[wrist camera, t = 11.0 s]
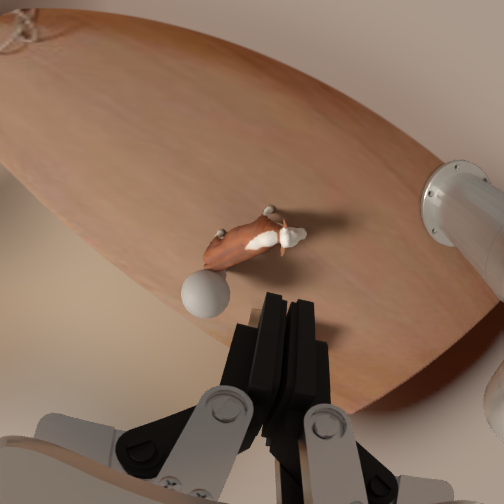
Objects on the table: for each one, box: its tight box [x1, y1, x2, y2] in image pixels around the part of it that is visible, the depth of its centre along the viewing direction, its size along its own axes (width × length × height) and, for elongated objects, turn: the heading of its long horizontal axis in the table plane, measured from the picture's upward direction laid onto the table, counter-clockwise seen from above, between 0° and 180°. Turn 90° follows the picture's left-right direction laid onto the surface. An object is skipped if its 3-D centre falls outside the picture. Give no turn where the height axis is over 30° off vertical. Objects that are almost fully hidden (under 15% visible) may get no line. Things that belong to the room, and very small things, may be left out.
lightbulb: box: [181, 268, 230, 318], centre depth 39 cm, size 6×6×11 cm
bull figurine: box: [203, 205, 307, 272], centre depth 37 cm, size 4×13×8 cm, turn 115°
